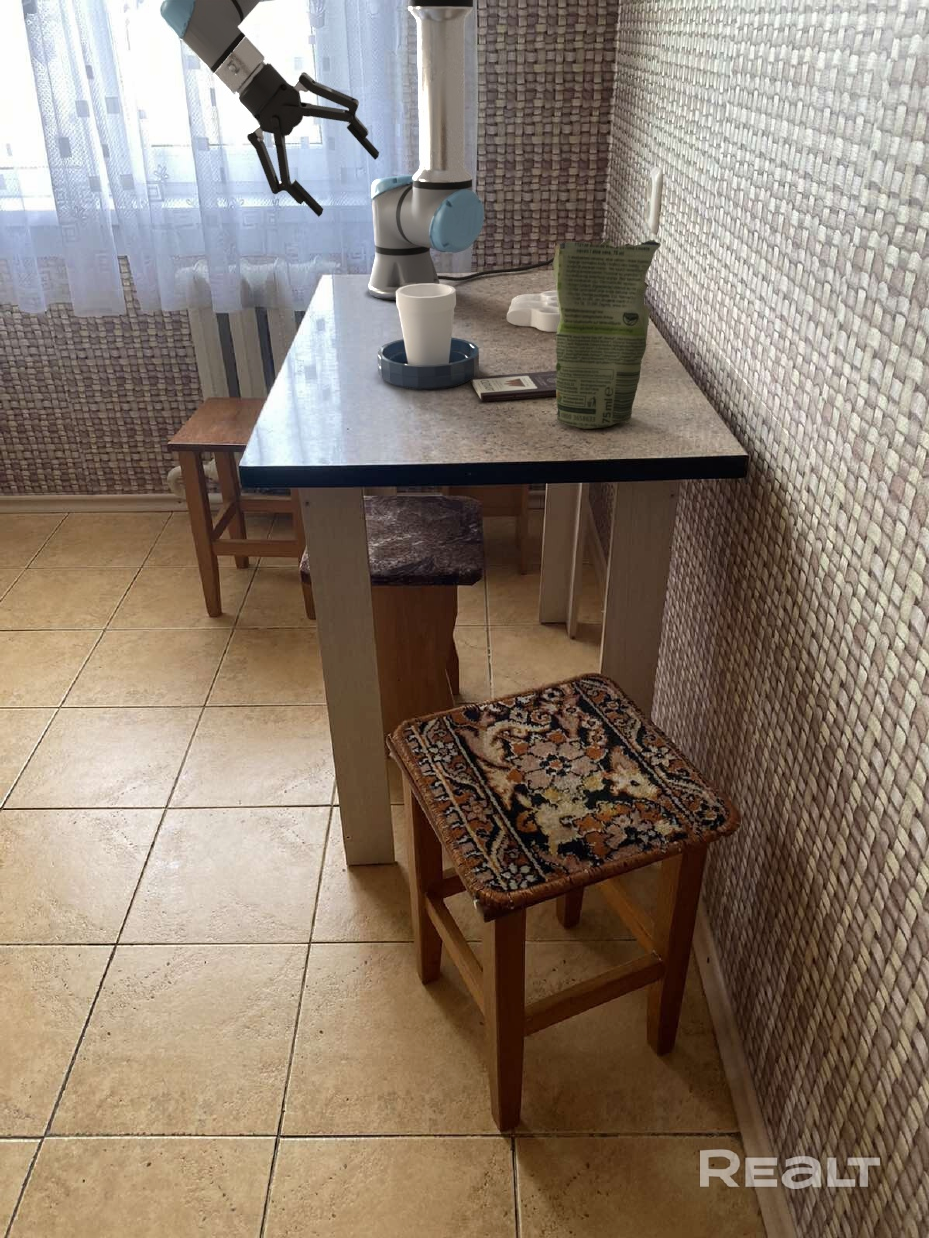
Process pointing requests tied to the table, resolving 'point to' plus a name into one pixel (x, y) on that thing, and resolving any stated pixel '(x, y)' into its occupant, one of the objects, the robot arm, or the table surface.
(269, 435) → the table surface
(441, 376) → the bowl
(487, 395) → the chocolate bar
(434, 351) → the foam cup
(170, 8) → the robot arm
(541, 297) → the white brass knuckles
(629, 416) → the pouch
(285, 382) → the table surface
